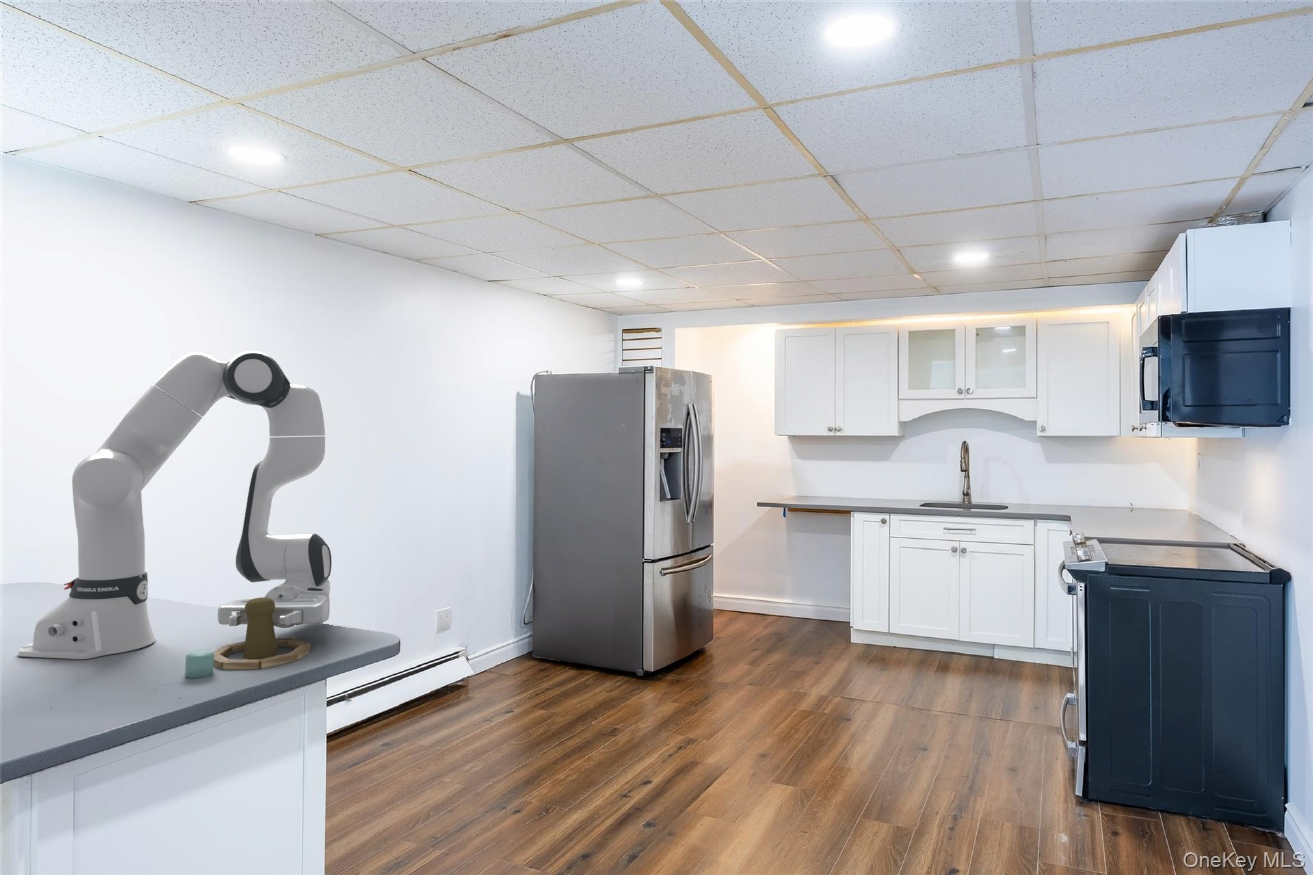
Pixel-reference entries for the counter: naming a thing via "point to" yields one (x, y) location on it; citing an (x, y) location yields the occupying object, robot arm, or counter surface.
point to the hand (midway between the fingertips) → (258, 621)
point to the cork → (260, 629)
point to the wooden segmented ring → (225, 663)
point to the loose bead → (199, 664)
